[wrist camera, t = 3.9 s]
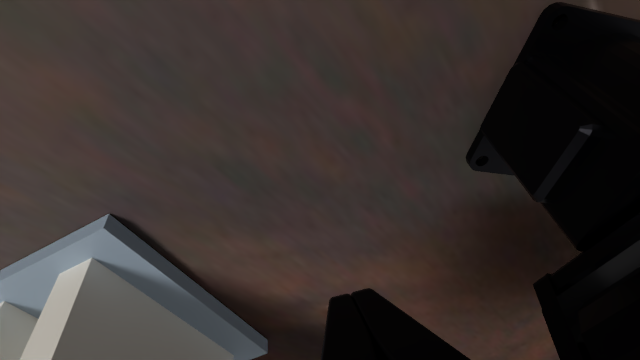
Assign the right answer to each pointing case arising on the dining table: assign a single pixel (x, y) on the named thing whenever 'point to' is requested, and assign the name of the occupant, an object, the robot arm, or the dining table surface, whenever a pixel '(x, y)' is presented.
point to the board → (137, 269)
